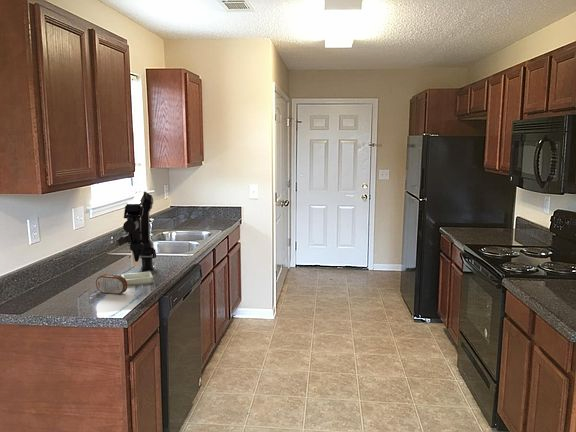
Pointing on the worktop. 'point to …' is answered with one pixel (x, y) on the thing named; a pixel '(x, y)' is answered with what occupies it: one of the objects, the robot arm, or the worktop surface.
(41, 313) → the worktop surface
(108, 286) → the tin
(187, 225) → the worktop surface
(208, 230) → the worktop surface
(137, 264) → the cream block
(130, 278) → the tray
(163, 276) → the worktop surface
